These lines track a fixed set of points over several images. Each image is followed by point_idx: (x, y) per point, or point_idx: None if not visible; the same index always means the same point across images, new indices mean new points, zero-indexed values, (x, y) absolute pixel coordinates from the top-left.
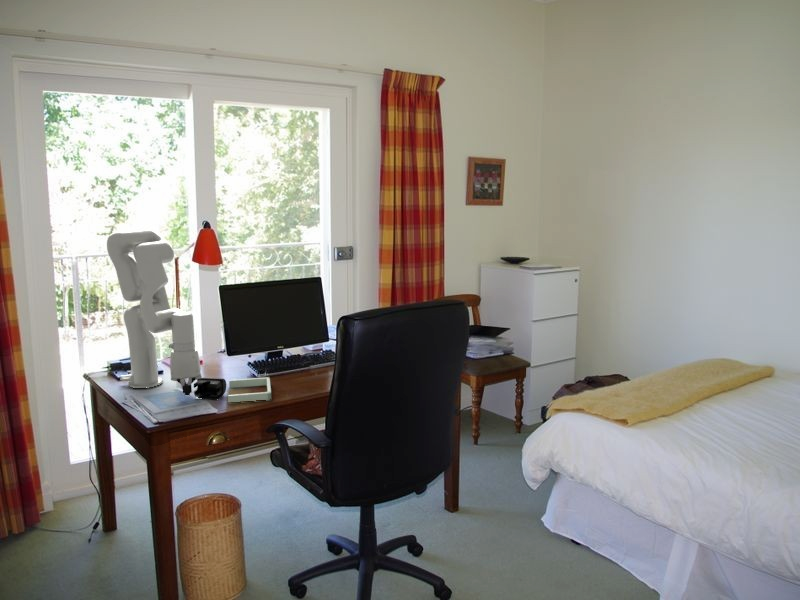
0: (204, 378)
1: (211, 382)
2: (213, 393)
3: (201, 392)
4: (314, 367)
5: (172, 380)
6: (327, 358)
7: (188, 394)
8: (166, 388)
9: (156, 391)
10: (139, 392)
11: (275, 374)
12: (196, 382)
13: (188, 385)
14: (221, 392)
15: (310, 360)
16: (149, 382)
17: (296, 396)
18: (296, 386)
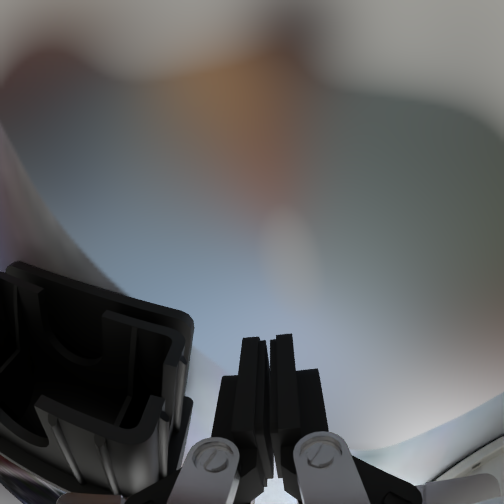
0: (78, 492)
1: None
2: (36, 333)
3: (130, 370)
4: None
5: (473, 475)
6: (3, 485)
7: (249, 343)
8: (416, 463)
9: (467, 429)
10: None
11: (20, 469)
12: (118, 457)
13: (233, 434)
14: (1, 335)
15: (21, 494)
16: (483, 472)
17: None
18: None
